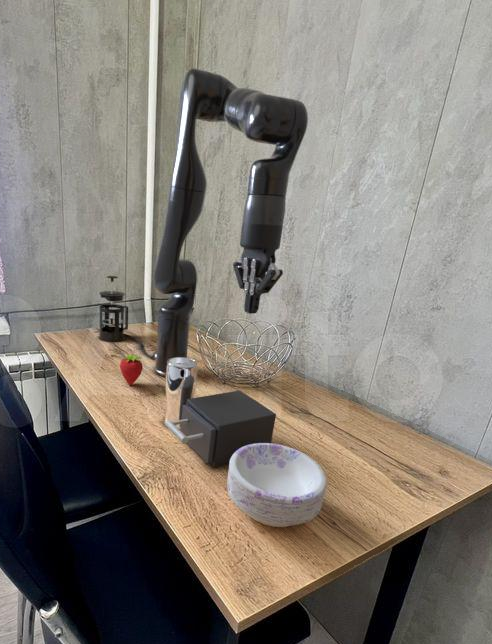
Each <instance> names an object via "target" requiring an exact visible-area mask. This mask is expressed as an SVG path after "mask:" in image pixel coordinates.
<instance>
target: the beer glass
mask: <svg viewBox="0 0 492 644" xmlns="http://www.w3.org/2000/svg"><path fill="white" fill-rule="evenodd" d="M164 377H165V380H164V381H165V382H164V384H165V385H164V386H165V387H164V388H165V397H166V414H165V418H164V423H165V422H166V421H167V420H170V421H171V422H173V421H179V420H182V409H183V405H186V403H187V399H191V398H195V393H196V389H197V385H198V383H197V382H198V361H197V360H195V359H193V358H190V357H187V358H186V357H174V358H170V359H169V360H168V361H167V369H166V376H164ZM175 426H176V427H177V428H178V429H179V430H181V424H178V425H175Z"/></svg>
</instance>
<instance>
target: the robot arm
mask: <svg viewBox="0 0 492 644" xmlns="http://www.w3.org/2000/svg"><path fill="white" fill-rule="evenodd" d="M177 118H178V119H177V129H176V130H177V131H176V141H175V142H176V143H175V150H174V158H173V165H172V171H171V175H170V176H171V177H170V182H169V189H168V195H167V196H168V197H167V203H166V204H167V205H166V213H165V219H164V223H163V224H164V225H163V231H162V237H161V241H160V245H159V249H158V254H157V258H156V262H155V267H154V271H153V272H154V274H153V280H154V286H155V288H156V291H158V292H159V293H160V294H162V295H170V296H169V298H168V299H167V300H166V301H165V302H163V303H162V304H160V305H159V307H158V311H157V312H158V313H157V314H158V315H157V331H156V332H157V336H156V345H155V351H154V354H153V355H149V354H148V353H147V352H146V351H145V349H143V344H142V342H141V341H140V340H139V339H138V338H136V337H134V336H131V335H129V334H128V333H127V334H126V333H124V337H127V338H130V339H132V340H134V341H135V342H137V343H138V344H139V349H140V351H141V353H142V354H144V355H145V356H146V357H147V358H150V359H153V360H154V361H155V363H154V372H155V373H156V374H157V375H159V376H162V377H166V369H167V361H168V360H169V359H170V358H174V357H186V358H188V349H189V338H190V337H189V334H190V322H191V314H192V311H193V308H194V306H195V299H196V298H195V297H196V293H197V292H196V291H197V283H198V271H197V268H196V265H195V264H194V262H193V261H191V260H190V259H186V258H181V254H182V249H183V246H184V243H185V241H186V239H187V237H188V236H189V234H190V232H191V231H192V230H193V229H194V227H195V225H196V224H197V222H198V221H199V218H200V217H201V215H202V212H203V209H204V204H205V199H206V193H207V188H208V182H207V181H208V180H207V175H206V172H205V169H204V166H203V162H202V160H201V158H200V154H199V151H198V145H197V140H196V127H197V126H196V125H197V120H200V121H204V122H208V123H222V122H223V123H224V122H225V123H227V124H228V126H230V127H231V128H233V129H234V130H237V131H238V132H241V133H242V134H244V136H245V138H246V139H248V140H250V141H252V142H256V143H259V144H265V145H271V146H272V145H274V146H275V148H274V150H273V153H272V154H271V156H270V157H267V158H261V159H257V160H255V161H253V163H252V164H251V166H250V170H249V177H248V183H247V185H248V186H247V187H248V188H247V192H246V193H247V194H246V199H245V203H244V208H243V214H242V215H243V216H242V224H241V232H240V239H239V246H240V247H241V248H243V250H242V253H241V257H240V259H239V260H238V261H234V262H233V264H232V267H233V270H234V273H235V277H236V280H237V283H238V287H239V289H240V290H243V292H244V294H245V298H244V305H243V306H244V310H243V311H244V312H245V313H247V314H251V315H252V314H257V313H258V311H259V309H260V307H259V306H260V303H261V302H260V301H261V296H262V295H264V294H269V293H270V291H271V290H272V289H273V287H274V286H275V285H276V284H277V283H278V281H279V280H280V278H282V276H283V275H284V270H283V269H280V268H279V269H278V267H277V266H276V261H277V259H276V251H277V250H279V249H280V247H281V241H282V235H283V229H284V221H285V215H286V200H287V198H286V197H287V192H288V185H289V179H290V173H291V171H292V168H293V165H294V162H295V160H296V157H297V155H298V152H299V149H300V147H301V144H302V142H303V141H304V138H305V135H306V133H307V129H308V124H309V123H308V122H309V114H308V109H307V107H306V105H305V103H303V101H301V100H299V99H295V98H289V97H284V96H278V95H273V94H267V93H264V92H263V91H259V90H256V89H252V88H247V87H238V86H236V84H235V83H233V82H232V81H230V80H229V79H228V78H226V77H225V76H223V75H221V74H219V73H218V74H217V73H214V72H210V71H207V70H204V69H199V68H189V70H188V71H187V72H185V76H184V77H183V81H182V84H181V89H180V94H179V105H178V117H177ZM102 327H105V325H103V324H102Z"/></svg>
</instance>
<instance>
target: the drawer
mask: <svg viewBox="0 0 492 644" xmlns="http://www.w3.org/2000/svg"><path fill="white" fill-rule="evenodd" d="M178 424H181V429H178V428H177V427H176V426H175V425H178ZM164 426H165V427H166V428H167V429H168V430H169V431H170V432H171V433H172V434H173V435H174V436H175V437H176V438H177V439H178V441H180V443H182V444H183V445H185V444H187V445H188V446H190V448H192V449H193V450H194V451H195V453H196V454H197V455H199V457H200V458H201V459H202V460H203V461H204V462H205V463H206V464H210V463H212V462H213V455H214V446H215V438H216V428H215V427H214V426H212V425H211V424H210V423H209V422H208V421H207V420H205V419H204V418H203V416H202V415H201V414H199V413H198V412H197V411H196V410H194V409H192V408H191V407H190V406H189V405H188V404H187V405H183V409H182V420H179V421H173V422H171V421H170V420H167V421H166V422H165V421H164Z"/></svg>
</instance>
